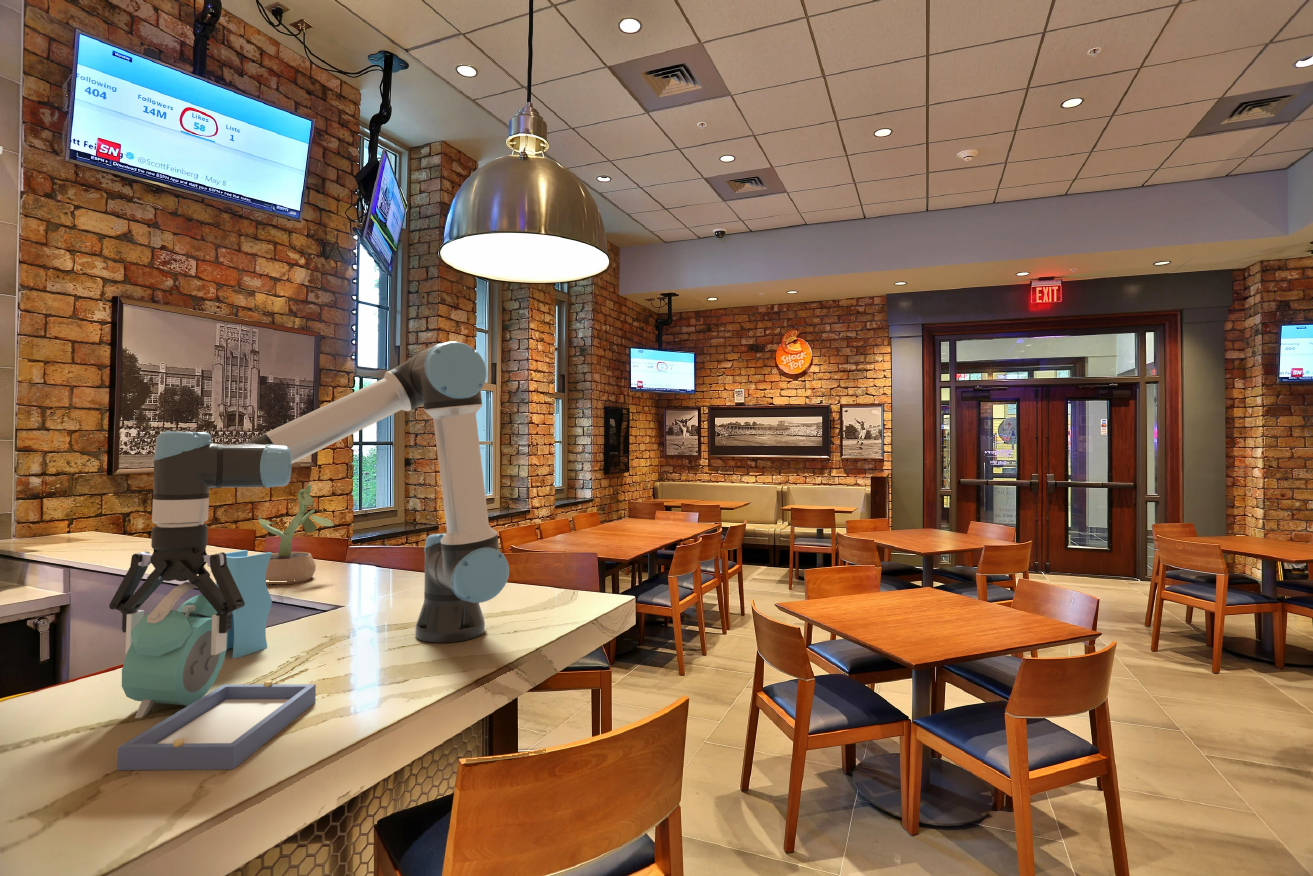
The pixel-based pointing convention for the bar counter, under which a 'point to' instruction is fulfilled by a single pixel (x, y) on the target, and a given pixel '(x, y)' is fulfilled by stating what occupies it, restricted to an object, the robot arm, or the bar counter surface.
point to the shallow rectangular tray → (217, 728)
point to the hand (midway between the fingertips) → (176, 652)
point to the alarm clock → (172, 653)
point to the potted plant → (285, 561)
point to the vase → (249, 602)
